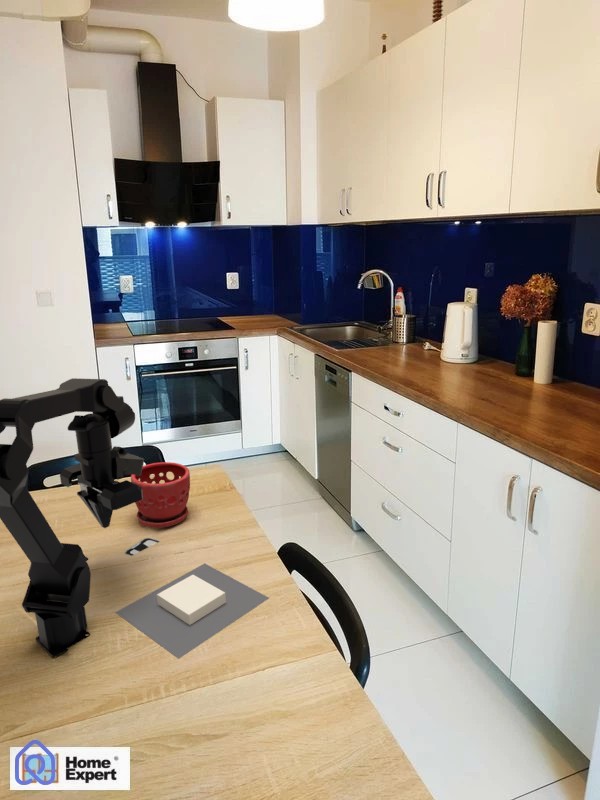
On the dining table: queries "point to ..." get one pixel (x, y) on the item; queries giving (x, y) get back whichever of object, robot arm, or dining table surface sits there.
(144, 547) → the smartphone
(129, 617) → the mat
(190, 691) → the dining table surface
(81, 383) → the robot arm
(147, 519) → the plant pot
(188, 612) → the tile
